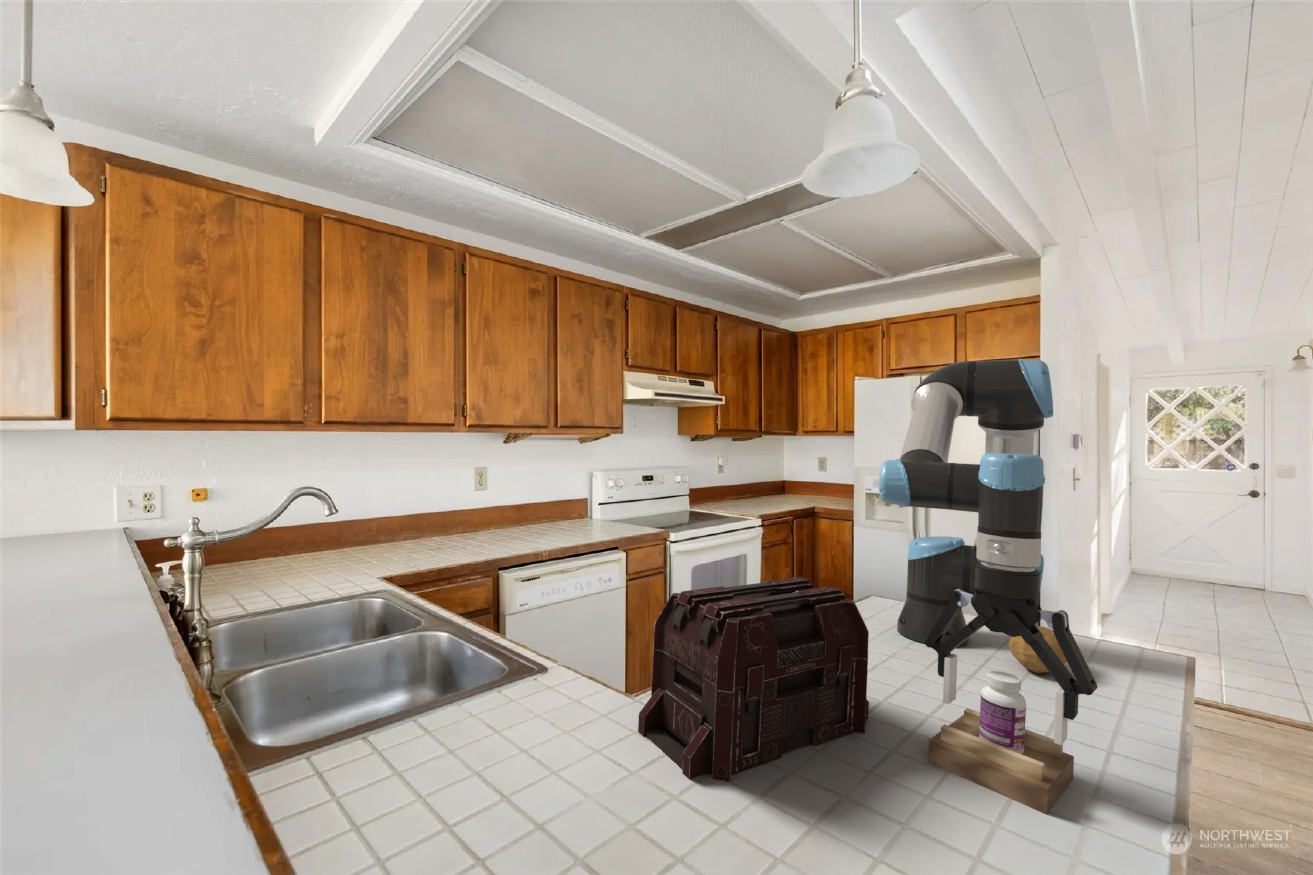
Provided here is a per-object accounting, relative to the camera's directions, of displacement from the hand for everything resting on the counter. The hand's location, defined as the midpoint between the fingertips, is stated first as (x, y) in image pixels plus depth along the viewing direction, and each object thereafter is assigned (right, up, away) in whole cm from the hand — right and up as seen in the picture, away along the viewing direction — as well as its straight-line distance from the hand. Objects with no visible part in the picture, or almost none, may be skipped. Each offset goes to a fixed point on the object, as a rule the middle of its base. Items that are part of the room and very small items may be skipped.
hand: (1001, 719), depth 77 cm
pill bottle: (0, -4, 0) cm, 4 cm away
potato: (+30, -9, +37) cm, 48 cm away
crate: (-32, -6, +9) cm, 34 cm away
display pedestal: (0, -7, 0) cm, 7 cm away
